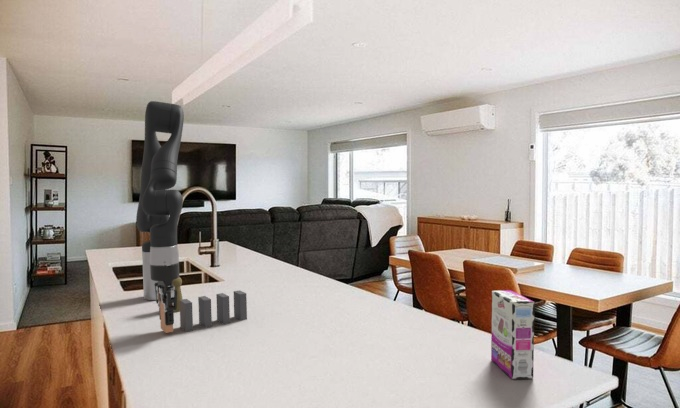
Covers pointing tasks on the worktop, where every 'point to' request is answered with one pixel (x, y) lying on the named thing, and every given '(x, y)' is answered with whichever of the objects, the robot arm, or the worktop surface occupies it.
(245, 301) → the domino
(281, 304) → the worktop surface
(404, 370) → the worktop surface
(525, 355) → the candy bar box
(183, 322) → the domino
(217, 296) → the domino
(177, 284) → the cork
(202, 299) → the domino
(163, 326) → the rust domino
